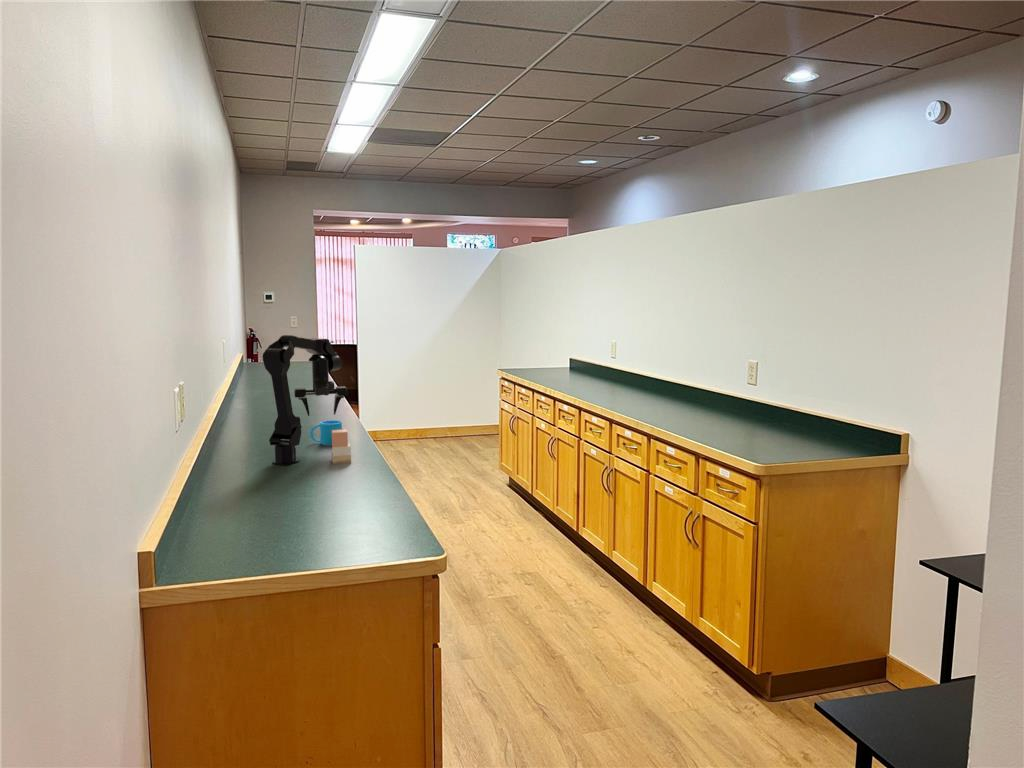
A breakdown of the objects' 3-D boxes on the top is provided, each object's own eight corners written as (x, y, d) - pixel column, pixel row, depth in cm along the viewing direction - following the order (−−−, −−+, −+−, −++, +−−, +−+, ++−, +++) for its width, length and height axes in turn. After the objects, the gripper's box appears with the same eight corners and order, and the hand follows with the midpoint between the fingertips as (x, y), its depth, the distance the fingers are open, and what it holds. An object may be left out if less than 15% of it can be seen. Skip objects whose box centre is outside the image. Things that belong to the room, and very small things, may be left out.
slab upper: (350, 455, 255) (350, 446, 255) (332, 455, 253) (332, 447, 253) (349, 451, 261) (349, 442, 260) (332, 452, 259) (332, 443, 259)
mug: (342, 440, 293) (341, 420, 292) (342, 444, 285) (341, 423, 284) (310, 441, 290) (309, 421, 289) (309, 446, 282) (309, 424, 281)
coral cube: (347, 446, 255) (347, 431, 254) (332, 447, 253) (332, 432, 253) (346, 443, 259) (346, 429, 259) (332, 444, 258) (331, 430, 257)
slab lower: (351, 463, 255) (350, 454, 255) (333, 464, 254) (332, 456, 253) (349, 459, 261) (349, 451, 261) (332, 460, 259) (331, 452, 259)
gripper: (294, 376, 261) (295, 420, 263) (348, 374, 267) (349, 417, 269) (293, 372, 272) (294, 415, 274) (345, 371, 277) (346, 412, 279)
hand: (321, 415), depth 274 cm, fingers open, 9 cm apart
